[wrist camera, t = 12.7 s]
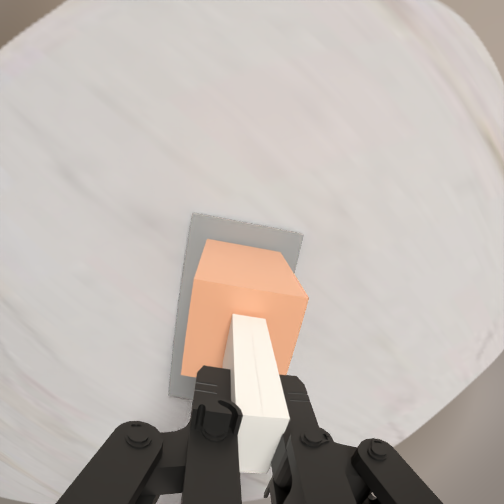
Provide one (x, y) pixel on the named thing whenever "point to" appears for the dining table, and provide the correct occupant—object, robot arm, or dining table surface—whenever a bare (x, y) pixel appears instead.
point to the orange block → (241, 303)
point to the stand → (198, 234)
